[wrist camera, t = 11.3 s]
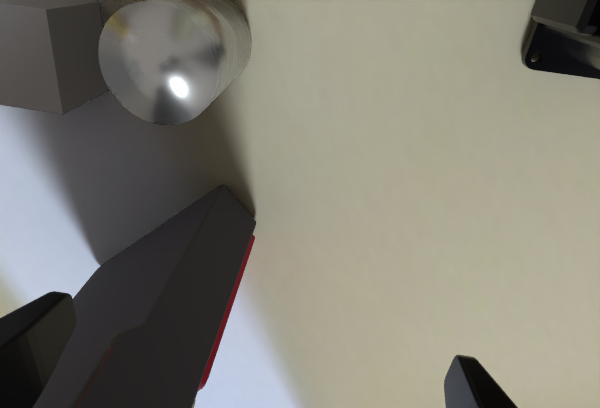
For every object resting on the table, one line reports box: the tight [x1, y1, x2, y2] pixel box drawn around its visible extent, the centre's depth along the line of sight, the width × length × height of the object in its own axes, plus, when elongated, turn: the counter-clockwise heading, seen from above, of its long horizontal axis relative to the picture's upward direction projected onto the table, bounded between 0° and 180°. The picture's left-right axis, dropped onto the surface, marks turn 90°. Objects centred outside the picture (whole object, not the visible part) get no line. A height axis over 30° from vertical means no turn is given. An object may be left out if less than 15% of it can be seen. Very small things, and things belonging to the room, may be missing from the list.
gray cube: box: [0, 0, 109, 114], centre depth 18 cm, size 4×4×4 cm
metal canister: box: [98, 0, 252, 126], centre depth 17 cm, size 4×4×6 cm
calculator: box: [33, 185, 256, 408], centre depth 19 cm, size 11×4×15 cm, turn 127°
